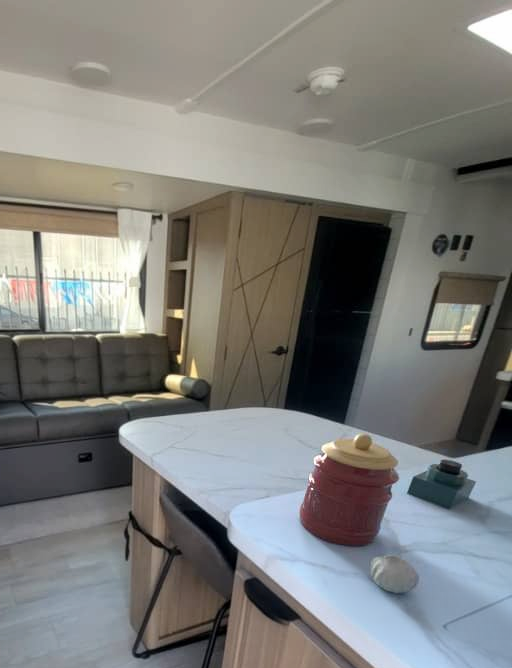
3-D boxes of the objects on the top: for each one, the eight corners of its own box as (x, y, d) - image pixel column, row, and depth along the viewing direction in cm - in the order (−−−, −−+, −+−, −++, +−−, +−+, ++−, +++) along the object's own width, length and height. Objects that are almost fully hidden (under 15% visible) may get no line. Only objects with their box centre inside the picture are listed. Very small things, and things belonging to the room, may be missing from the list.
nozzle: (441, 467, 86) (445, 458, 86) (461, 473, 84) (465, 464, 83) (434, 470, 85) (437, 461, 84) (454, 477, 82) (458, 467, 81)
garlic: (360, 585, 59) (371, 556, 56) (369, 568, 62) (380, 540, 60) (407, 606, 55) (421, 576, 53) (415, 587, 59) (428, 558, 56)
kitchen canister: (393, 540, 70) (432, 445, 62) (335, 553, 65) (369, 452, 58) (335, 505, 81) (362, 419, 73) (282, 514, 76) (304, 424, 69)
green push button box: (427, 483, 92) (437, 459, 90) (468, 498, 86) (480, 472, 84) (406, 493, 87) (416, 467, 84) (449, 509, 81) (461, 482, 78)
